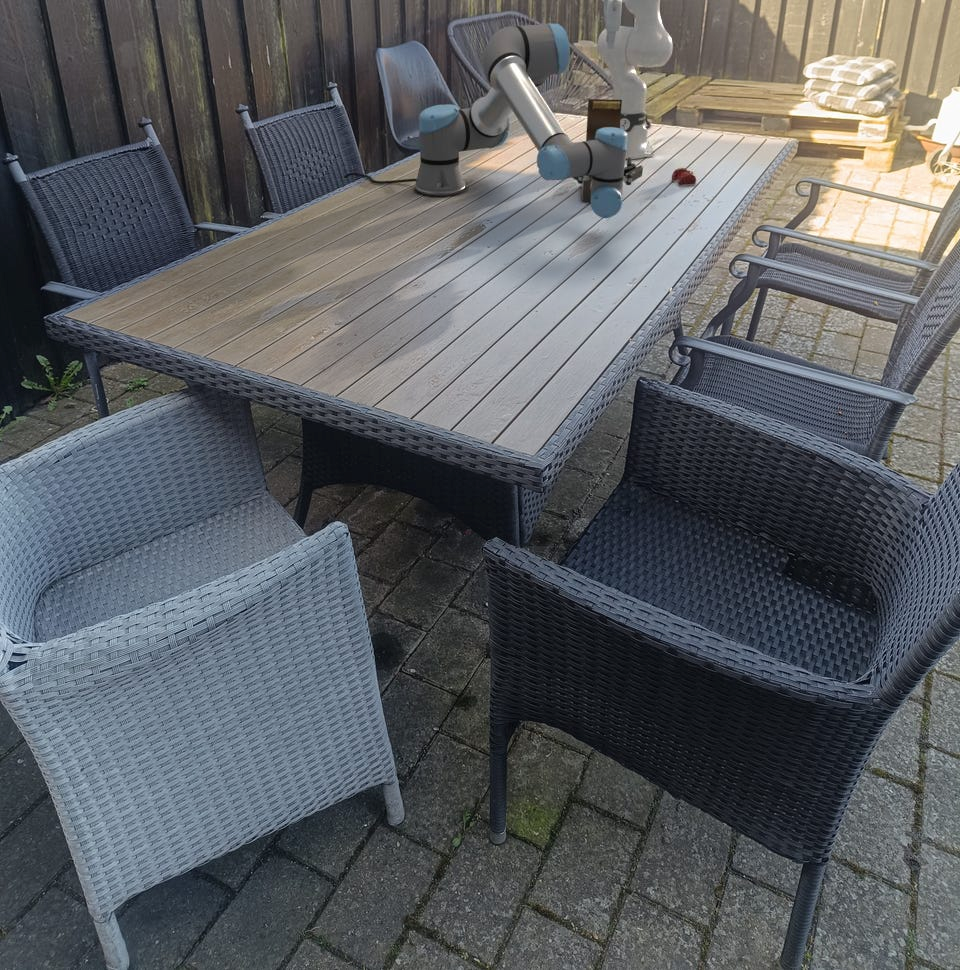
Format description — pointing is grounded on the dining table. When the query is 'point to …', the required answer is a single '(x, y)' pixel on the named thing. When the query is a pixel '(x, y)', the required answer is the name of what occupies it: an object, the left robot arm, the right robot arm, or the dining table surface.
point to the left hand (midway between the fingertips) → (603, 161)
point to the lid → (602, 115)
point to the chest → (586, 191)
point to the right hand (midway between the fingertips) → (609, 45)
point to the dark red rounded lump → (684, 176)
